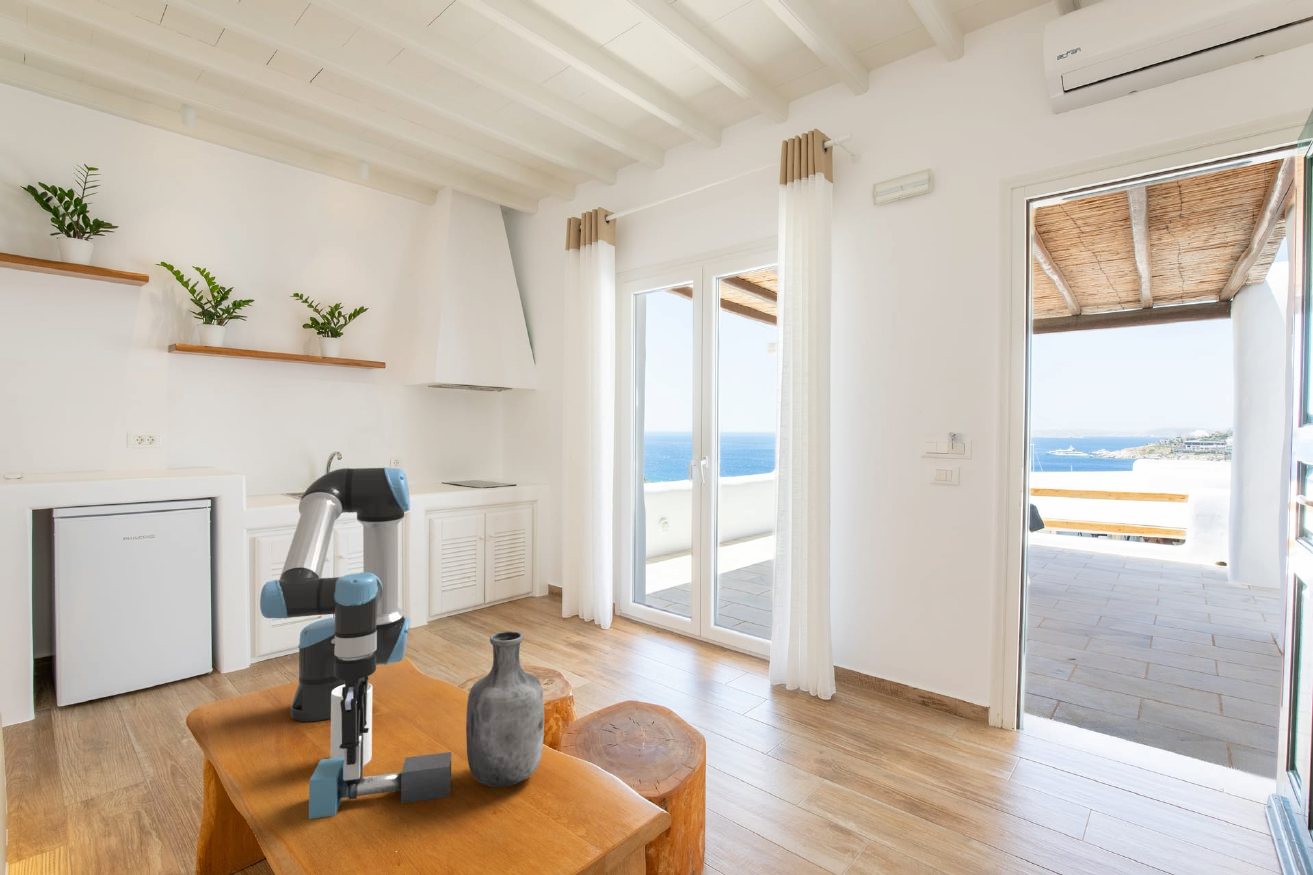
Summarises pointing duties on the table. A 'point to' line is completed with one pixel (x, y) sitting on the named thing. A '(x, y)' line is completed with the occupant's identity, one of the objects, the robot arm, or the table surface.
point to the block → (426, 777)
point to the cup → (337, 725)
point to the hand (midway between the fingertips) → (354, 773)
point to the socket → (325, 788)
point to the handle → (368, 782)
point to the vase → (505, 718)
